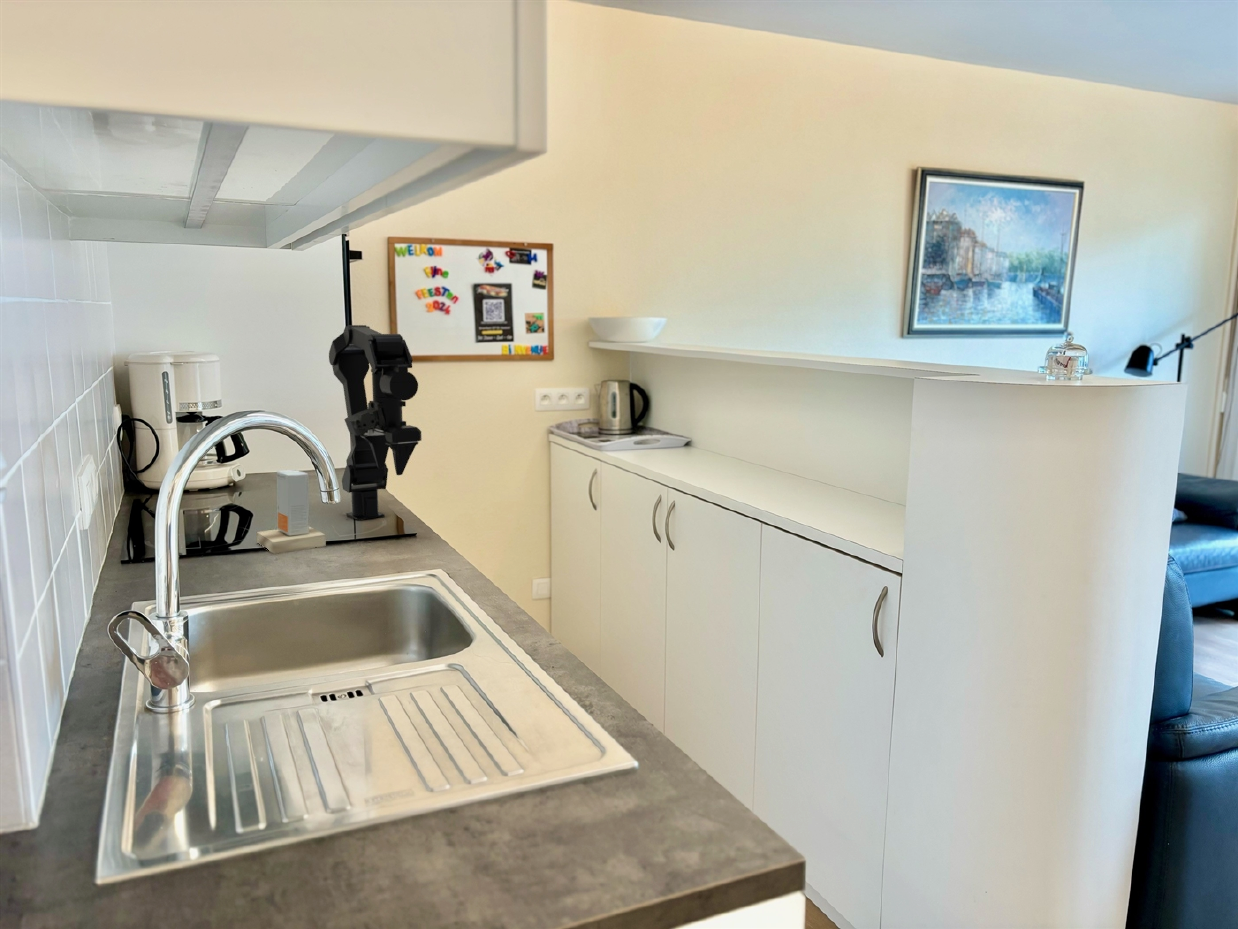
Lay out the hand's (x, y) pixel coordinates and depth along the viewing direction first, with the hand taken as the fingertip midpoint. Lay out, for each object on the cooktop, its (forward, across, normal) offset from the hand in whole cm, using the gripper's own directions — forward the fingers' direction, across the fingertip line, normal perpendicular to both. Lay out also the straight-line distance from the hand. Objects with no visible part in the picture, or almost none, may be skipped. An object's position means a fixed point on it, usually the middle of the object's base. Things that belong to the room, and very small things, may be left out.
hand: (389, 471), depth 186 cm
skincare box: (+11, -3, -19) cm, 22 cm away
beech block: (+14, -3, -20) cm, 24 cm away
